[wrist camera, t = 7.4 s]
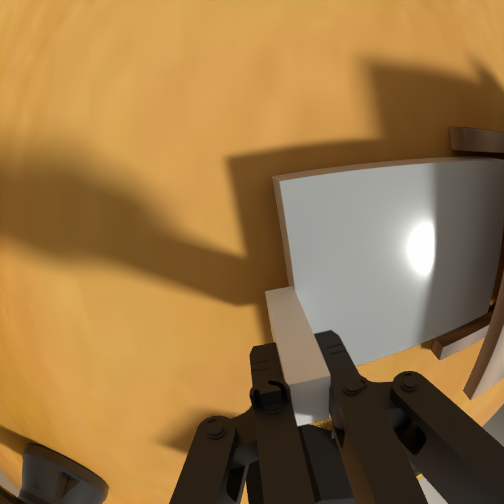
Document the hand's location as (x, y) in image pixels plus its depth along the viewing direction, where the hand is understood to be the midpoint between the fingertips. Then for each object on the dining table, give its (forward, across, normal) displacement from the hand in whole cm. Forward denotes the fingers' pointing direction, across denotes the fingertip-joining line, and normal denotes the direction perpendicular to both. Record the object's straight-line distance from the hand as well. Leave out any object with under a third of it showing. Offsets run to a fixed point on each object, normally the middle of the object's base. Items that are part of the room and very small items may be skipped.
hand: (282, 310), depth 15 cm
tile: (+2, -9, -1) cm, 9 cm away
